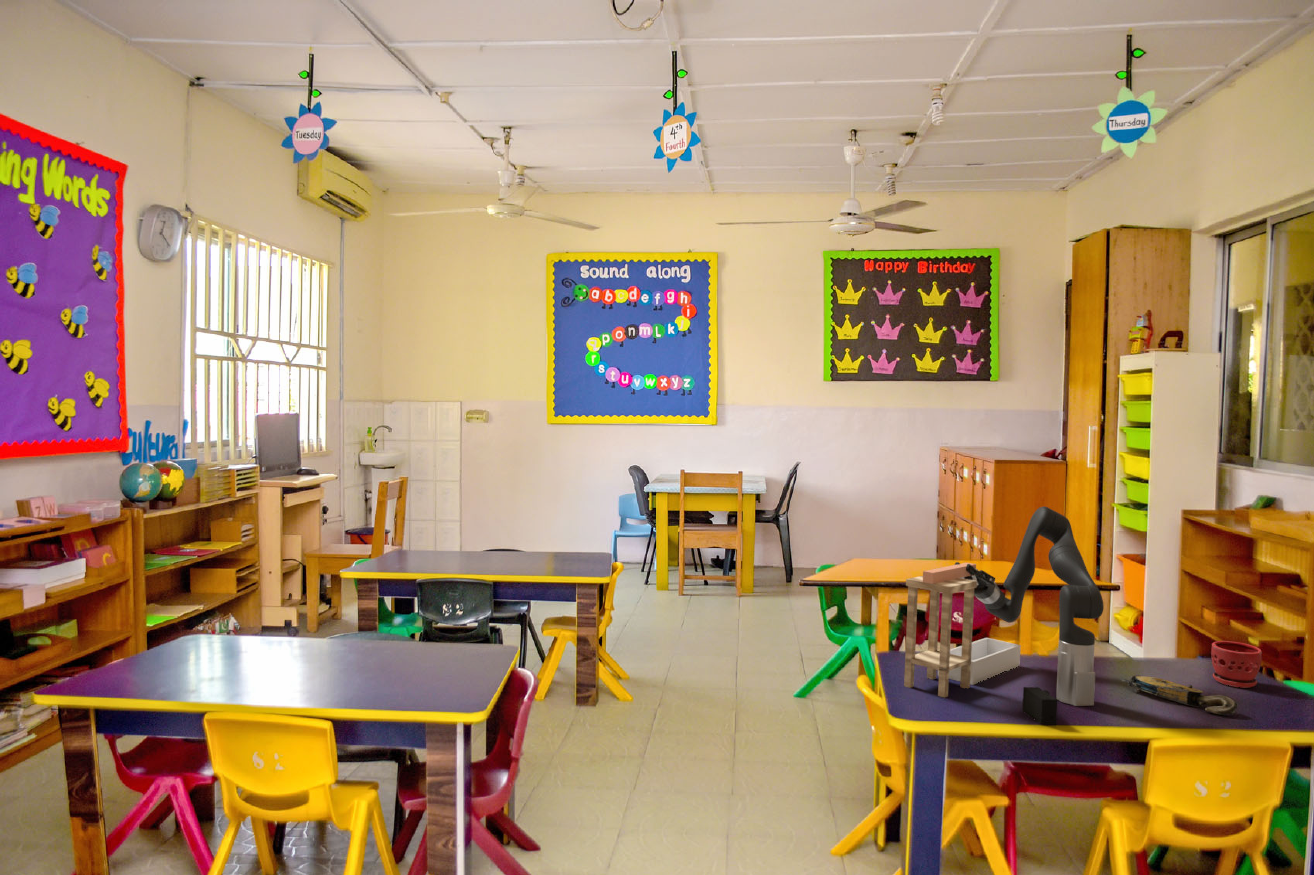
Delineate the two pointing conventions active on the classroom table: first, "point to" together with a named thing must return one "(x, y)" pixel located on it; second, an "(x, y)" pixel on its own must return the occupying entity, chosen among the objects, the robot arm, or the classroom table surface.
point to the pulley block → (1183, 694)
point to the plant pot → (1235, 663)
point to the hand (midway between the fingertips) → (962, 565)
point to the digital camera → (1040, 705)
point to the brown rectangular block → (946, 573)
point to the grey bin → (988, 659)
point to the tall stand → (943, 657)
